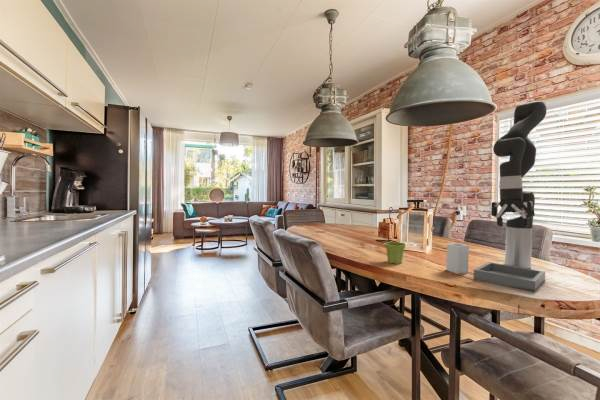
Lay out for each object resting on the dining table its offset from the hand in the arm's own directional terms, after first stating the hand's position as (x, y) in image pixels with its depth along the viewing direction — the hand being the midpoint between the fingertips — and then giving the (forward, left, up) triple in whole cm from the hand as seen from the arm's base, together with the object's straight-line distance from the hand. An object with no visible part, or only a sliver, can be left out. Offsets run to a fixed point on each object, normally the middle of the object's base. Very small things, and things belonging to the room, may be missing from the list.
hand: (512, 227), depth 116 cm
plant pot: (+24, -39, -19) cm, 49 cm away
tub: (+17, -15, -19) cm, 29 cm away
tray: (+14, +2, -18) cm, 23 cm away
